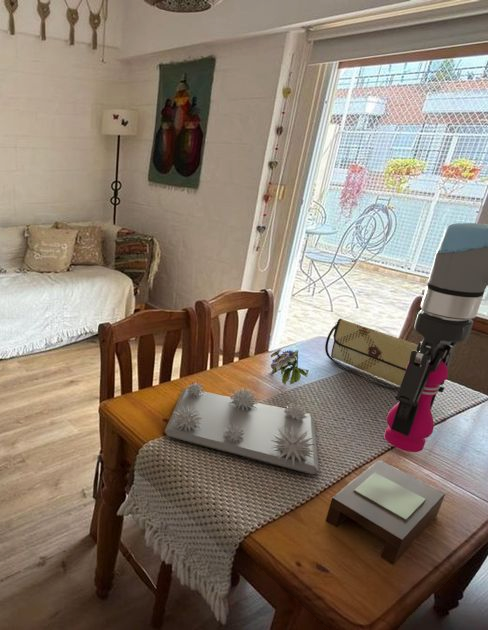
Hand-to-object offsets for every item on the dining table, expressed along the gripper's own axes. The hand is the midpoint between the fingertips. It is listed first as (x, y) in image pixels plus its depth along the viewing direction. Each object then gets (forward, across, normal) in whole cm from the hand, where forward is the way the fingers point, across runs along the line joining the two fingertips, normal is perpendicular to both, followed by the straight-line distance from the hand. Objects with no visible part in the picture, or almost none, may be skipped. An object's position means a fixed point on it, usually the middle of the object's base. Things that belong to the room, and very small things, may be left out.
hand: (409, 424), depth 84 cm
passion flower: (+20, -35, -43) cm, 59 cm away
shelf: (+20, +4, +2) cm, 21 cm away
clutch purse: (+20, -58, -29) cm, 68 cm away
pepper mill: (+4, 0, 0) cm, 4 cm away
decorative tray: (+20, +3, -32) cm, 38 cm away
